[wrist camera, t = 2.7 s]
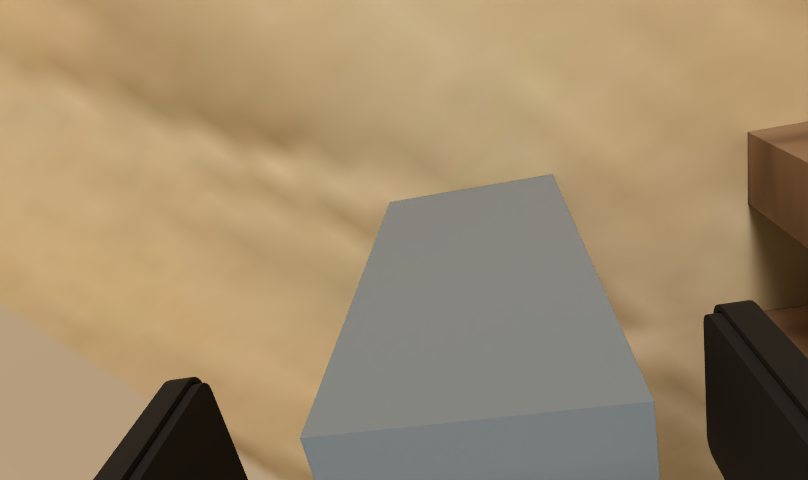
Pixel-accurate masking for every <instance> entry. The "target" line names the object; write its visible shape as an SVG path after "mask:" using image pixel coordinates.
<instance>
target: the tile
mask: <svg viewBox="0 0 808 480" xmlns="http://www.w3.org/2000/svg"><path fill="white" fill-rule="evenodd" d="M300 439H301V442H302V445H303V448H304V451H305V454H306V457H307V460H308V463H309V466H310V469H311V471H312V474H313V477H314V480H660V473H659V460H658V446H657V433H656V419H655V406H654V400H653V397H652V395H651V393H650V391H649V388H648V386H647V384H646V382H645V380H644V377H643V375H642V373H641V371H640V368H639V366H638V364H637V362H636V359H635V357H634V355H633V353H632V351H631V348H630V346H629V344H628V342H627V339H626V337H625V335H624V333H623V330H622V328H621V326H620V324H619V322H618V319H617V317H616V315H615V313H614V310H613V308H612V306H611V304H610V301H609V299H608V297H607V295H606V293H605V290H604V288H603V286H602V284H601V281H600V279H599V277H598V275H597V272H596V270H595V268H594V266H593V264H592V261H591V259H590V257H589V255H588V252H587V250H586V248H585V246H584V243H583V241H582V239H581V237H580V234H579V232H578V230H577V228H576V226H575V223H574V221H573V219H572V217H571V214H570V212H569V210H568V208H567V205H566V203H565V201H564V199H563V197H562V194H561V192H560V190H559V188H558V185H557V183H556V181H555V179H554V176H553V174H552V175H546V176H540V177H534V178H528V179H523V180H517V181H511V182H505V183H499V184H494V185H488V186H482V187H476V188H470V189H465V190H459V191H453V192H447V193H441V194H436V195H430V196H424V197H418V198H412V199H407V200H401V201H395V202H390V204H389V206H388V209H387V211H386V214H385V217H384V219H383V222H382V225H381V227H380V230H379V232H378V235H377V238H376V240H375V243H374V246H373V248H372V251H371V253H370V256H369V259H368V261H367V264H366V267H365V269H364V272H363V274H362V277H361V280H360V282H359V285H358V288H357V290H356V293H355V295H354V298H353V301H352V303H351V306H350V309H349V311H348V314H347V316H346V319H345V322H344V324H343V327H342V330H341V332H340V335H339V337H338V340H337V343H336V345H335V348H334V351H333V353H332V356H331V358H330V361H329V364H328V366H327V369H326V372H325V374H324V377H323V379H322V382H321V385H320V387H319V390H318V393H317V395H316V398H315V400H314V403H313V406H312V408H311V411H310V414H309V416H308V419H307V421H306V424H305V427H304V429H303V432H302V435H301V437H300Z"/></svg>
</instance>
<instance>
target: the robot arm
mask: <svg viewBox="0 0 808 480" xmlns="http://www.w3.org/2000/svg"><path fill="white" fill-rule="evenodd" d="M704 351H705V384H706V418H707V439H708V444H709V448H710V451H711V454H712V456H713V458H714V460H715V462H716V464H717V466H718V468H719V469H720V471H721V473H722V475H723V477H724V479H725V480H808V358H807V357H806V356H805V355H804V354H803V353H802V352H801V351H800V350H799V349H798V347H797V346H796V345H795V344H794V343H793V342H792V341H791V340H790V339H789V338H788V337H787V336H786V335H785V334H784V332H783V331H782V330H781V329H780V328H779V327H778V326H777V325H776V324H775V323H774V322H773V321H772V320H771V319H770V318H769V316H768V315H767V314H766V313H765V312H764V311H763V310H762V309H761V308H760V307H759V306H758V305H757V304H756V303H755V302H754V301H752V300H748V301H740V302H733V303H726V304H719V305H716V306H715V308H714V314H707V315H705V317H704ZM93 480H248V479H247V476H246V474H245V472H244V469H243V466H242V464H241V461H240V459H239V457H238V454H237V452H236V449H235V447H234V444H233V442H232V439H231V437H230V434H229V432H228V429H227V427H226V425H225V422H224V420H223V417H222V415H221V412H220V410H219V407H218V405H217V402H216V400H215V397H214V395H213V392H212V390H211V388H210V386H209V385H208V384H207V383H202V382H201V380H200V379H199V378H197V377H190V378H183V379H176V380H169V381H166V382H165V383H164V384H163V385H162V387H161V388H160V390H159V391H158V392H157V394H156V395H155V396H154V398H153V399H152V400H151V402H150V403H149V404H148V406H147V407H146V409H145V410H144V411H143V413H142V414H141V415H140V417H139V418H138V420H137V421H136V422H135V424H134V425H133V426H132V428H131V429H130V430H129V432H128V433H127V435H126V436H125V437H124V439H123V440H122V441H121V443H120V444H119V445H118V447H117V448H116V449H115V451H114V452H113V454H112V455H111V456H110V457H109V459H108V460H107V462H106V463H105V464H104V466H103V467H102V468H101V470H100V471H99V472H98V474H97V475H96V477H95V478H94V479H93Z"/></svg>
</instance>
